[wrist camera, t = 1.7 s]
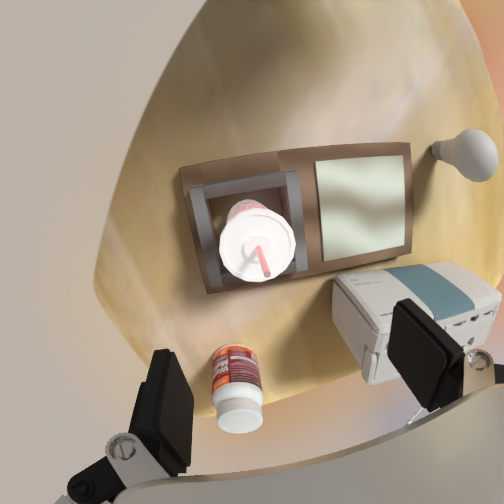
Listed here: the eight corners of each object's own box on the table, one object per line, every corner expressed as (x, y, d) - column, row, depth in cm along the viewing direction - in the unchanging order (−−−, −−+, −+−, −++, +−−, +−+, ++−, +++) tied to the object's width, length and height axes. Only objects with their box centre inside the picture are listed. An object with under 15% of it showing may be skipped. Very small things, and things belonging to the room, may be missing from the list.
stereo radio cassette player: (448, 254, 35) (540, 317, 17) (437, 300, 38) (513, 372, 19) (329, 267, 34) (419, 380, 15) (324, 322, 37) (386, 440, 18)
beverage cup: (208, 224, 30) (198, 281, 17) (245, 180, 29) (262, 205, 16) (251, 256, 32) (270, 330, 19) (287, 216, 31) (332, 266, 18)
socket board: (181, 167, 28) (174, 170, 24) (400, 142, 29) (422, 143, 24) (207, 286, 33) (205, 305, 29) (403, 247, 34) (422, 260, 29)
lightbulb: (420, 173, 30) (480, 188, 20) (415, 127, 28) (477, 128, 18) (449, 170, 30) (507, 185, 20) (446, 128, 28) (505, 132, 18)
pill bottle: (218, 337, 36) (219, 403, 25) (262, 346, 37) (275, 410, 26) (208, 369, 37) (206, 432, 27) (248, 376, 39) (257, 437, 28)
